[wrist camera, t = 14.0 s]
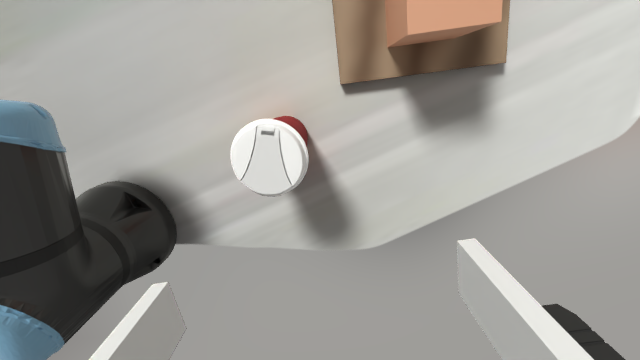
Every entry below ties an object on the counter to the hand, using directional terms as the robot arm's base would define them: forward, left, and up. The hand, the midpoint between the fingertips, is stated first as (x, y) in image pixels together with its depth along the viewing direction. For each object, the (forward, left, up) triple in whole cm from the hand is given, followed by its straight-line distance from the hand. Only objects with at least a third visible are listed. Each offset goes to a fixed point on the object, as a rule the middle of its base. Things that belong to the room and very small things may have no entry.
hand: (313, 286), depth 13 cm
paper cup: (-5, +2, -30) cm, 30 cm away
